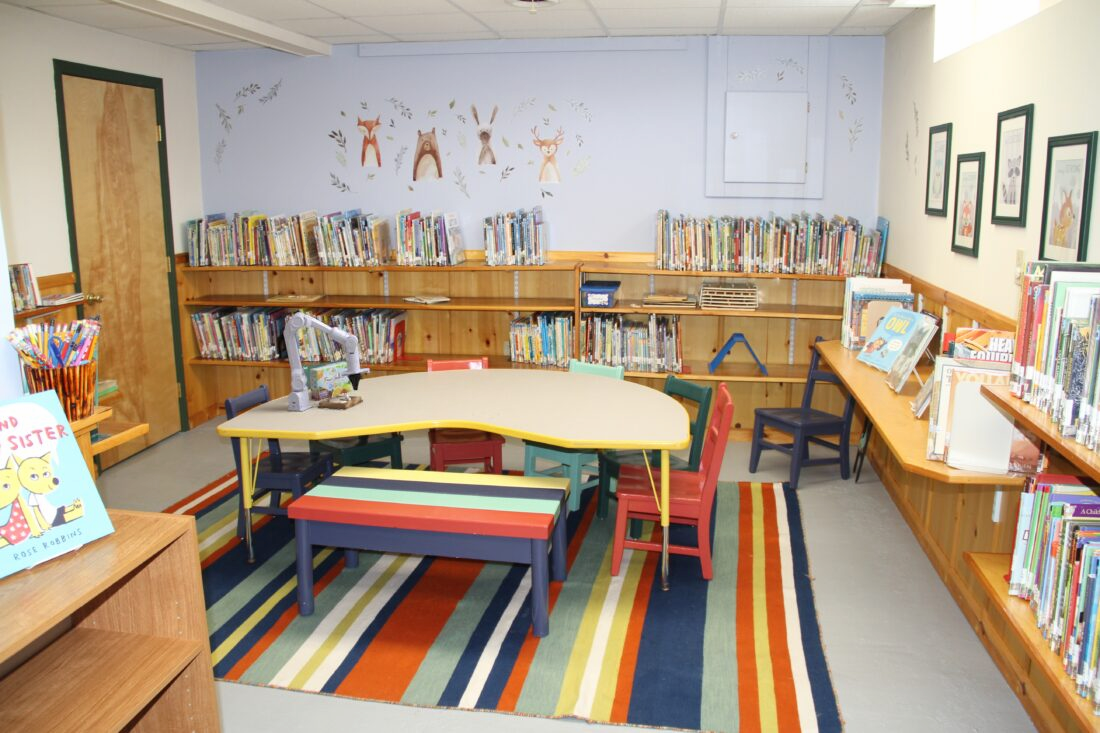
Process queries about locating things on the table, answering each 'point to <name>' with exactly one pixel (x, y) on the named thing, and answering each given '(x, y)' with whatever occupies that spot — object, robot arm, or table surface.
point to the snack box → (328, 381)
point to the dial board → (344, 406)
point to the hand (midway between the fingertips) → (355, 389)
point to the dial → (341, 399)
